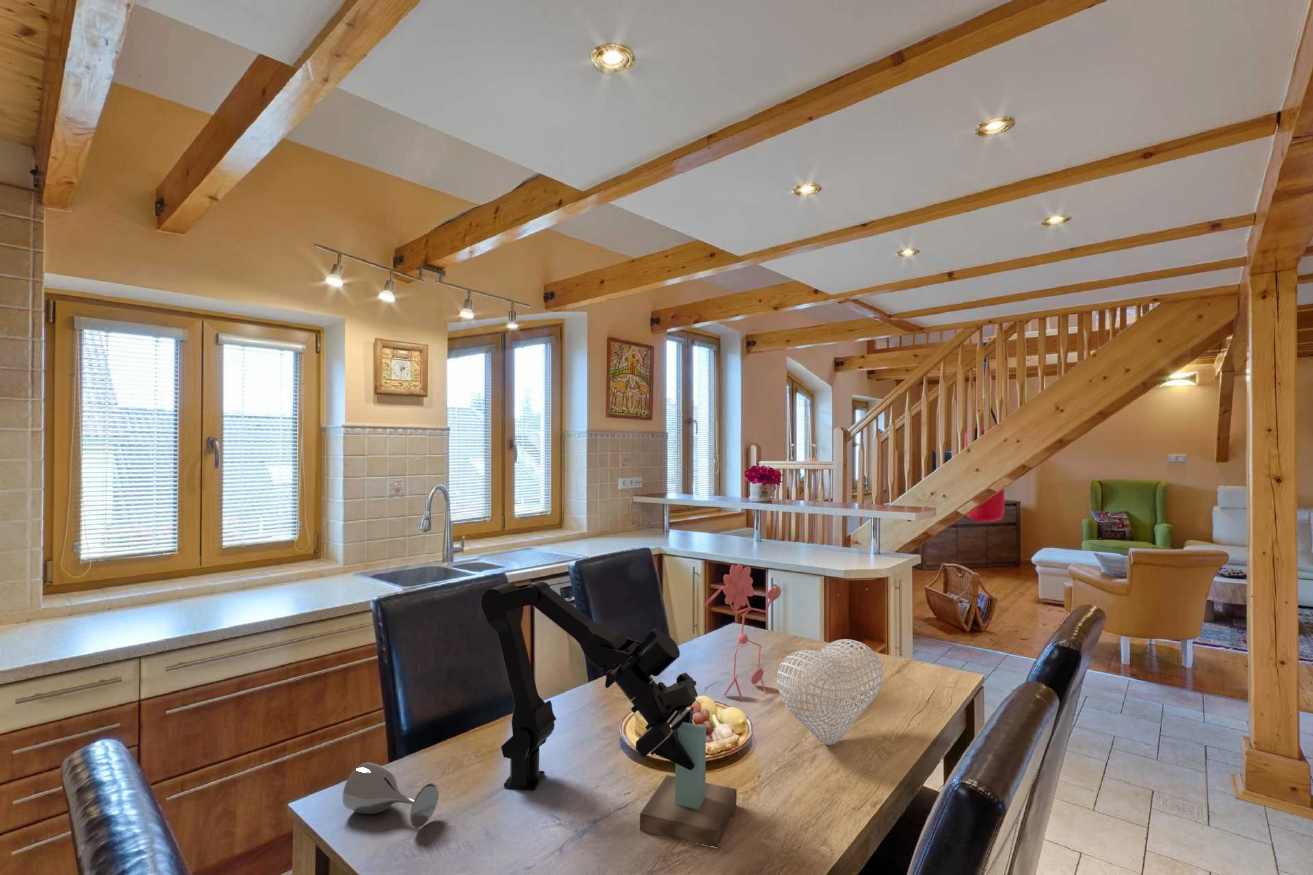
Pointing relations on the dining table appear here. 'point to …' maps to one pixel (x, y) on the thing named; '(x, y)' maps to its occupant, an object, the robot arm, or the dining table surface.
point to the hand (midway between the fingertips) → (697, 760)
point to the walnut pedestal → (689, 814)
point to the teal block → (693, 781)
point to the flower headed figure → (737, 593)
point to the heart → (827, 655)
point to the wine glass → (386, 794)
